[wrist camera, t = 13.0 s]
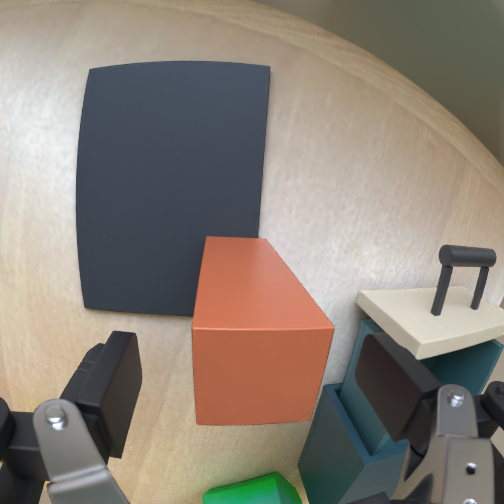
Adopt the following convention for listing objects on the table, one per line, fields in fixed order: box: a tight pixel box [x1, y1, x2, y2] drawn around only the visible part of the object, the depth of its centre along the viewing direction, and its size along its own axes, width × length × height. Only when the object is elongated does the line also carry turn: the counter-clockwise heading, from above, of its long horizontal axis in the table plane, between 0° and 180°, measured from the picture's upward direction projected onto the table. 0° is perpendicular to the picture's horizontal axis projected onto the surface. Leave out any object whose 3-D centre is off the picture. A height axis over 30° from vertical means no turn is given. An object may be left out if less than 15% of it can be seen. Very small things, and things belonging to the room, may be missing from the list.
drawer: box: [339, 245, 504, 456], centre depth 19 cm, size 18×13×8 cm
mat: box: [76, 61, 270, 316], centre depth 18 cm, size 18×13×1 cm
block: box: [192, 236, 334, 425], centre depth 14 cm, size 4×4×12 cm
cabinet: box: [298, 383, 407, 504], centre depth 22 cm, size 15×14×10 cm
